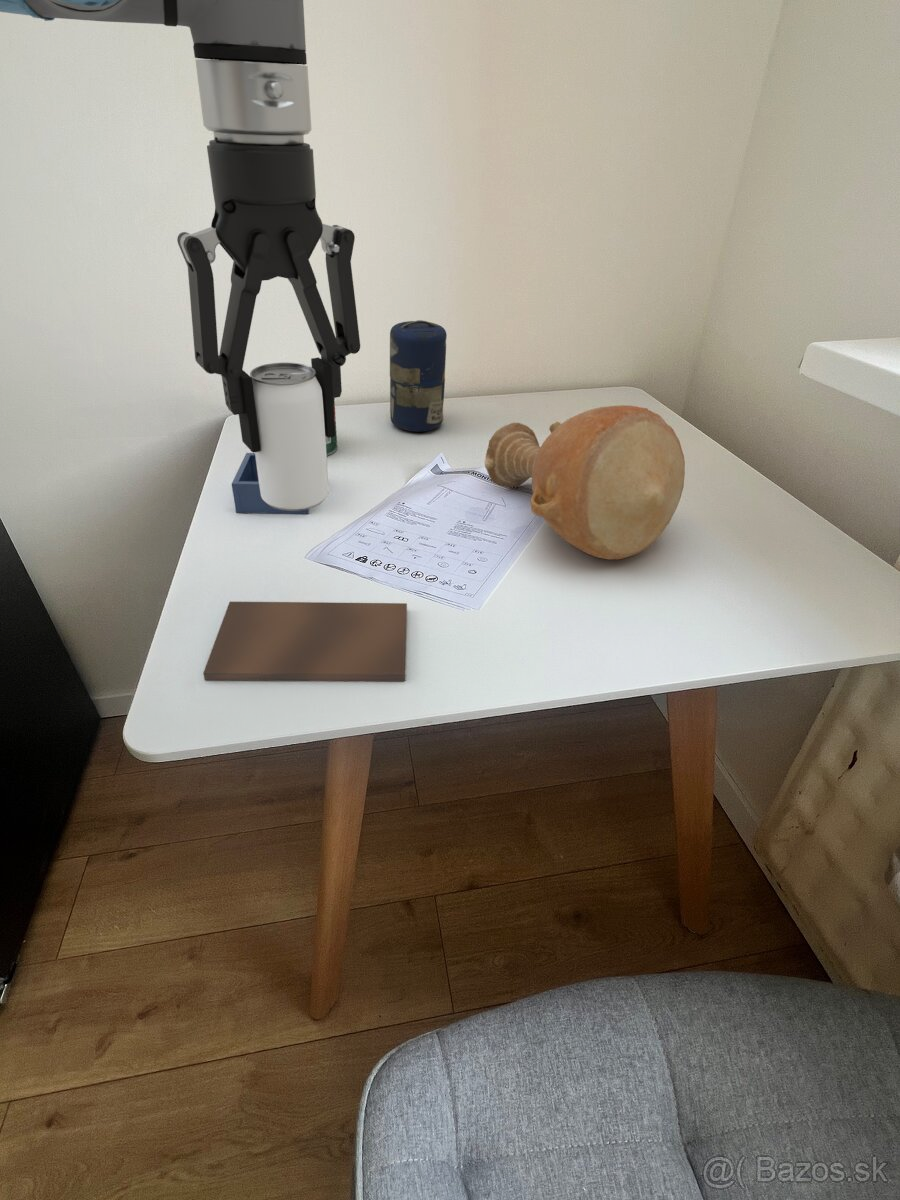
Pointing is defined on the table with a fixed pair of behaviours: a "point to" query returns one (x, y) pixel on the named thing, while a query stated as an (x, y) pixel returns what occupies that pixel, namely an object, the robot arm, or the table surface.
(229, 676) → the board
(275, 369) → the can
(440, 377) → the canister
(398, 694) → the table surface
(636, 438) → the jug
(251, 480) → the holder
